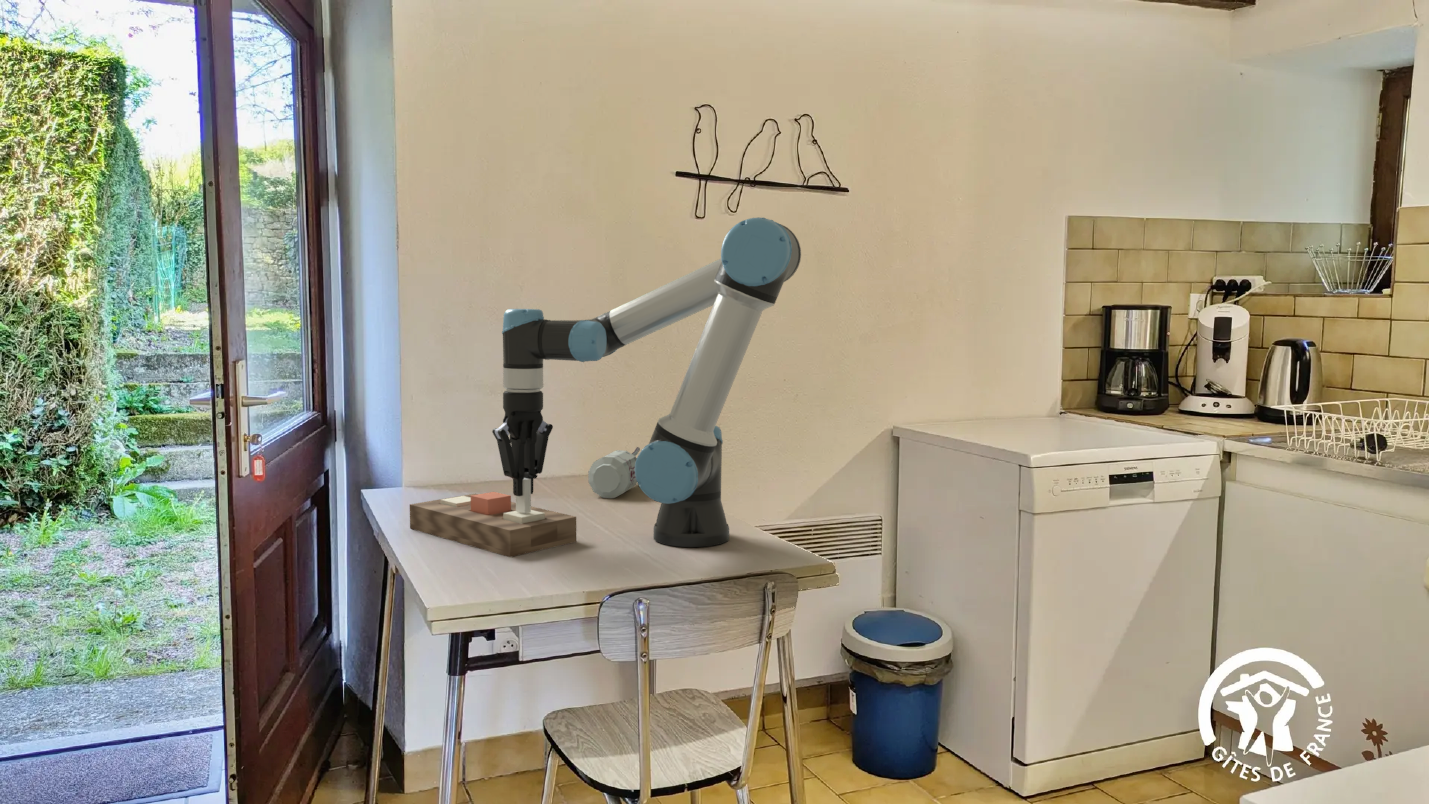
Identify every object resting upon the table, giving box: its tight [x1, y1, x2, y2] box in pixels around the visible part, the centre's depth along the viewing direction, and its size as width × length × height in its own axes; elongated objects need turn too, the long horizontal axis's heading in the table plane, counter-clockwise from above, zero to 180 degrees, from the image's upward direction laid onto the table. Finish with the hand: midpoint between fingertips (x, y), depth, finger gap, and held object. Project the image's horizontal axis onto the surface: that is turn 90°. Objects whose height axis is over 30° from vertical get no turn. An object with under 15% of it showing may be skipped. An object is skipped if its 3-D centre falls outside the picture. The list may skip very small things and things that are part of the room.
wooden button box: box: [409, 493, 577, 558], centre depth 199 cm, size 33×16×5 cm, turn 49°
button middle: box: [471, 491, 512, 515], centre depth 199 cm, size 6×6×4 cm
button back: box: [440, 495, 471, 507], centre depth 206 cm, size 6×6×4 cm
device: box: [588, 446, 641, 499], centre depth 250 cm, size 31×10×10 cm, turn 168°
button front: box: [503, 510, 545, 524], centre depth 192 cm, size 6×6×4 cm
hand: (523, 511), depth 192 cm, fingers closed
